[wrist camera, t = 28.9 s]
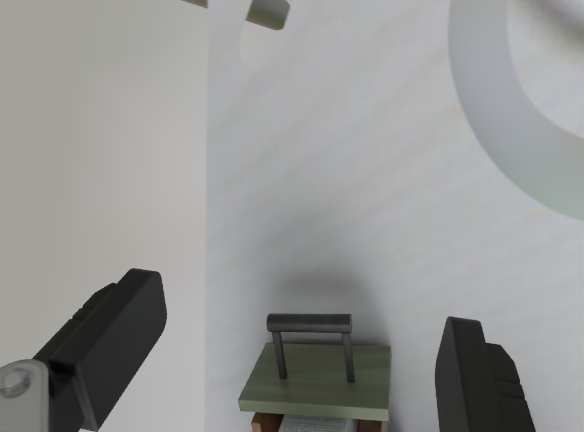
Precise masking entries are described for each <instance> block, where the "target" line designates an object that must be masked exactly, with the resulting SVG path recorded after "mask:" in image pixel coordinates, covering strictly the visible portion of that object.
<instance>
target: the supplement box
mask: <svg viewBox="0 0 584 432" xmlns="http://www.w3.org/2000/svg"><path fill="white" fill-rule="evenodd" d="M360 421H361V419H347V418H333V417H319V416H304V415H290V414H285V415H284V417H283V420H282V423H281V426H280V429H279V431H278V432H359V428H360Z"/></svg>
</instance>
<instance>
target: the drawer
mask: <svg viewBox="0 0 584 432" xmlns="http://www.w3.org/2000/svg"><path fill="white" fill-rule="evenodd" d="M267 329H268V331H269V332H272V334H273V340H274V343H266V345H265V347H264V349H263V351H262V353H261V355H260V357H259V359H258V361H257V363H256V365H255V367H254V369H253V371H252V373H251V375H250V377H249V379H248V381H247V383H246V385H245V387H244V389H243V391H242V393H241V395H240V397H239V399H238V402H239V407H240V411H247V412H256V413H255V415H254V417H253V420H252V422H251V425H252V430H253V432H278V431H279V429H280V426H281V423H282V420H283V417H284V415H285V414H290V415H304V416H319V417H333V418H347V419H361V421H360V428H359V432H390V427H389V419H390V390H391V361H392V354H391V346H360V345H351V335H350V333H352V316H351V314H269V315H268V317H267ZM281 332H314V333H342V338H343V345H321V344H282V337H281Z"/></svg>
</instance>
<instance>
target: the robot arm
mask: <svg viewBox="0 0 584 432" xmlns="http://www.w3.org/2000/svg"><path fill="white" fill-rule="evenodd" d="M166 319H167V310H166V304H165V298H164V291H163V284H162V279H161V275H160V273H159V272H156V271H149V270H143V269H135V268H133V269H130V270H129V271H128V272H127V273H126V274H125V275H124V277H123V278H122V279H121V280H120V281H119V282H118V283H117V284H116V283H111V284H109V285H108V286H106V287H104V288H102V289H101V290H99V291H97V292H96V293H94V294H93V295H92V296H91V298H90V299H89V300H88V301H87V302H86V303H85V304H84V305H83V308H80V309H79V310H78V311H77V312H76V313H75V314H74V315H73V318H72V319H70V320H68V322H67V323H66V324H65V325H64V326H63V327H62V328H61V329H60V330H59V331H58V332H57V333H56V334H55V335H54V336H53V337H52V338H51V339H50V340H49V342H47V343H46V345H45V346H44V347H43V348H42V349H41V350H40V351H39V352H38V353H37V354H36V355H35V356H34V357H33V358H32V359H25V360H19V361H15V362H12V363H10V364H7V365H5V366H3V367H1V368H0V432H78V431H79V430H80V428H81V429H86V430H90V431H95V432H98V430H99V428H100V427H101V426H102V424H103V423H104V421H105V420H106V418H107V417H108V415H109V413H110V412H111V410H112V409H113V407H114V406H115V404H116V403H117V401H118V400H119V398H120V397H121V395H122V394H123V392H124V391H125V389H126V388H127V386H128V384H129V383H130V381H131V380H132V378H133V377H134V375H135V374H136V372H137V371H138V369H139V368H140V366H141V365H142V363H143V362H144V360H145V359H146V357H147V356H148V354H149V352H150V351H151V350H152V348H153V347H154V345H155V343H156V342H157V340H158V339H159V337H160V336H161V334H162V332H163V330H164V328H165V324H166ZM435 387H436V397H437V407H438V417H439V428H440V432H536V431H535V427H534V424H533V421H532V418H531V415H530V411H529V408H528V405H527V402H526V400H525V395H524V392H523V389H522V385H520V379H519V376H518V373H517V369H516V366H515V363H514V361H513V360H512V359H511V358H510V356H509V355H508V354H507V353H506V351H505V350H504V349H503V348H502V346H501V345H497V344H491V343H486V342H485V338H484V334H483V330H482V326H481V323H480V321H477V320H470V319H464V318H457V317H450V316H449V317H448V318H447V321H446V324H445V328H444V332H443V336H442V340H441V344H440V348H439V352H438V356H437V360H436V367H435Z"/></svg>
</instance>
